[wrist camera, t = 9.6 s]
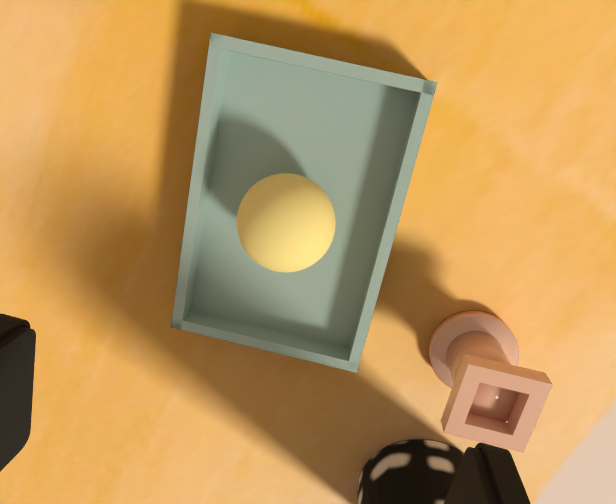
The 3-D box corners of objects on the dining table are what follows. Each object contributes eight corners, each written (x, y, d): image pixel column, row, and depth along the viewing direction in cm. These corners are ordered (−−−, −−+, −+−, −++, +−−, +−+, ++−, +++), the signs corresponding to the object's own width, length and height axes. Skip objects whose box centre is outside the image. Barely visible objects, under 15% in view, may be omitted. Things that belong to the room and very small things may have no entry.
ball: (258, 157, 27) (232, 171, 22) (348, 178, 27) (342, 197, 22) (243, 242, 29) (216, 273, 24) (328, 263, 28) (318, 298, 24)
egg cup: (442, 301, 29) (461, 352, 23) (527, 322, 29) (567, 378, 23) (419, 374, 31) (430, 438, 25) (499, 394, 30) (529, 463, 25)
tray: (224, 38, 26) (210, 32, 24) (431, 83, 26) (437, 82, 23) (185, 310, 31) (170, 327, 29) (357, 352, 31) (356, 372, 28)
